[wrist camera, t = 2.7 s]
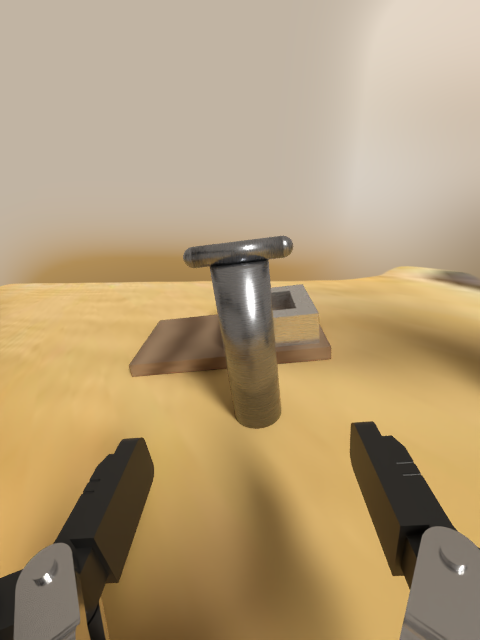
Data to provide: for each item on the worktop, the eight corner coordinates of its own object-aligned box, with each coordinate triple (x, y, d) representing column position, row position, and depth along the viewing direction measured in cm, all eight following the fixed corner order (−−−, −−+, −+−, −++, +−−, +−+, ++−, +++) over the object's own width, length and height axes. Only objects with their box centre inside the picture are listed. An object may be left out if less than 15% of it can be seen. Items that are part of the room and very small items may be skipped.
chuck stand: (132, 376, 32) (119, 337, 30) (162, 329, 43) (154, 298, 41) (330, 359, 30) (331, 316, 28) (309, 314, 41) (308, 281, 39)
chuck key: (213, 431, 23) (174, 254, 17) (218, 398, 27) (187, 243, 21) (305, 425, 23) (297, 239, 17) (297, 392, 26) (288, 230, 20)
